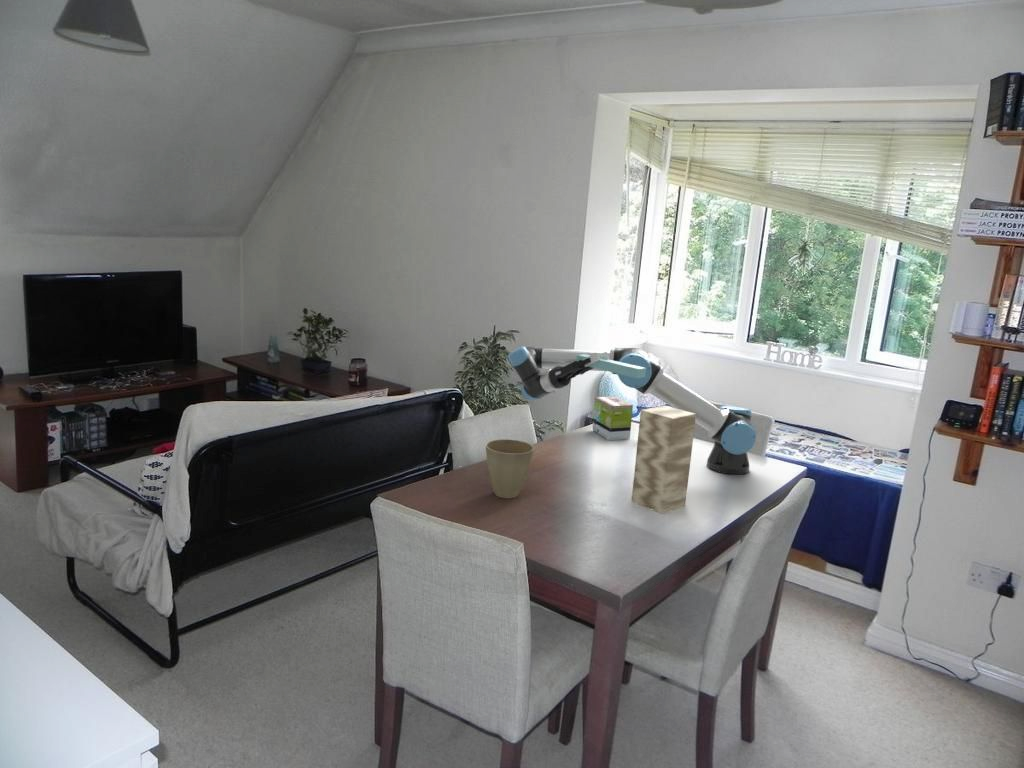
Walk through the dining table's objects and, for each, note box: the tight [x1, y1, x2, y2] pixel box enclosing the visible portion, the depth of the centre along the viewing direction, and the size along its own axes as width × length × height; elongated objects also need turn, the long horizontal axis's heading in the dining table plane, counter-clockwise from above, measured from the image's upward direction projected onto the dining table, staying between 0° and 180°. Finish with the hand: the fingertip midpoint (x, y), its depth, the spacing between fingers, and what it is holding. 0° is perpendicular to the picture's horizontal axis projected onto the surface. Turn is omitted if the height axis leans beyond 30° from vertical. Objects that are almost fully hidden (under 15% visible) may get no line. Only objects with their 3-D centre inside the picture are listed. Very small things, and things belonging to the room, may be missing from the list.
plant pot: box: [485, 438, 534, 499], centre depth 245 cm, size 15×15×16 cm
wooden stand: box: [631, 405, 696, 515], centre depth 245 cm, size 12×12×30 cm
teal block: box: [576, 354, 646, 378], centre depth 257 cm, size 26×4×3 cm, turn 43°
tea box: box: [592, 395, 634, 441], centre depth 323 cm, size 15×10×15 cm
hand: (602, 355), depth 258 cm, fingers closed on teal block, 4 cm apart
